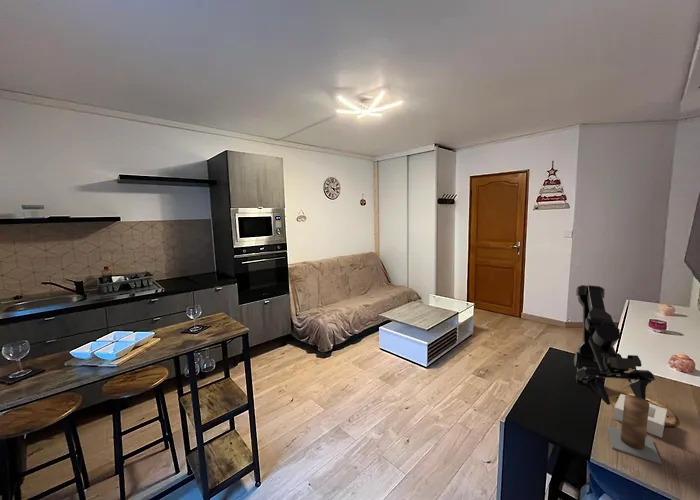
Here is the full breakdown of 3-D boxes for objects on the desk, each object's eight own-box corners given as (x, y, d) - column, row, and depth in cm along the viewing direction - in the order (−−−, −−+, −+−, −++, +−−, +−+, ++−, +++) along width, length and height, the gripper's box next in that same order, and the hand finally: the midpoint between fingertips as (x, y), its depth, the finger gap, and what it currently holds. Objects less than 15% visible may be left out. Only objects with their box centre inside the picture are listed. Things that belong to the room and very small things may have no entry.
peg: (622, 444, 85) (626, 402, 84) (619, 433, 89) (623, 393, 88) (646, 452, 82) (651, 408, 81) (642, 440, 87) (646, 398, 85)
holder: (612, 418, 97) (614, 407, 96) (619, 404, 104) (620, 393, 103) (661, 437, 88) (663, 425, 88) (665, 421, 95) (667, 409, 95)
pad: (612, 448, 85) (612, 446, 84) (606, 427, 93) (607, 425, 93) (661, 464, 79) (662, 463, 79) (651, 440, 87) (651, 439, 87)
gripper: (585, 342, 93) (606, 397, 83) (654, 345, 90) (683, 403, 81) (568, 354, 102) (586, 405, 92) (631, 357, 99) (655, 410, 89)
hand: (626, 405), depth 88 cm, fingers open, 9 cm apart
